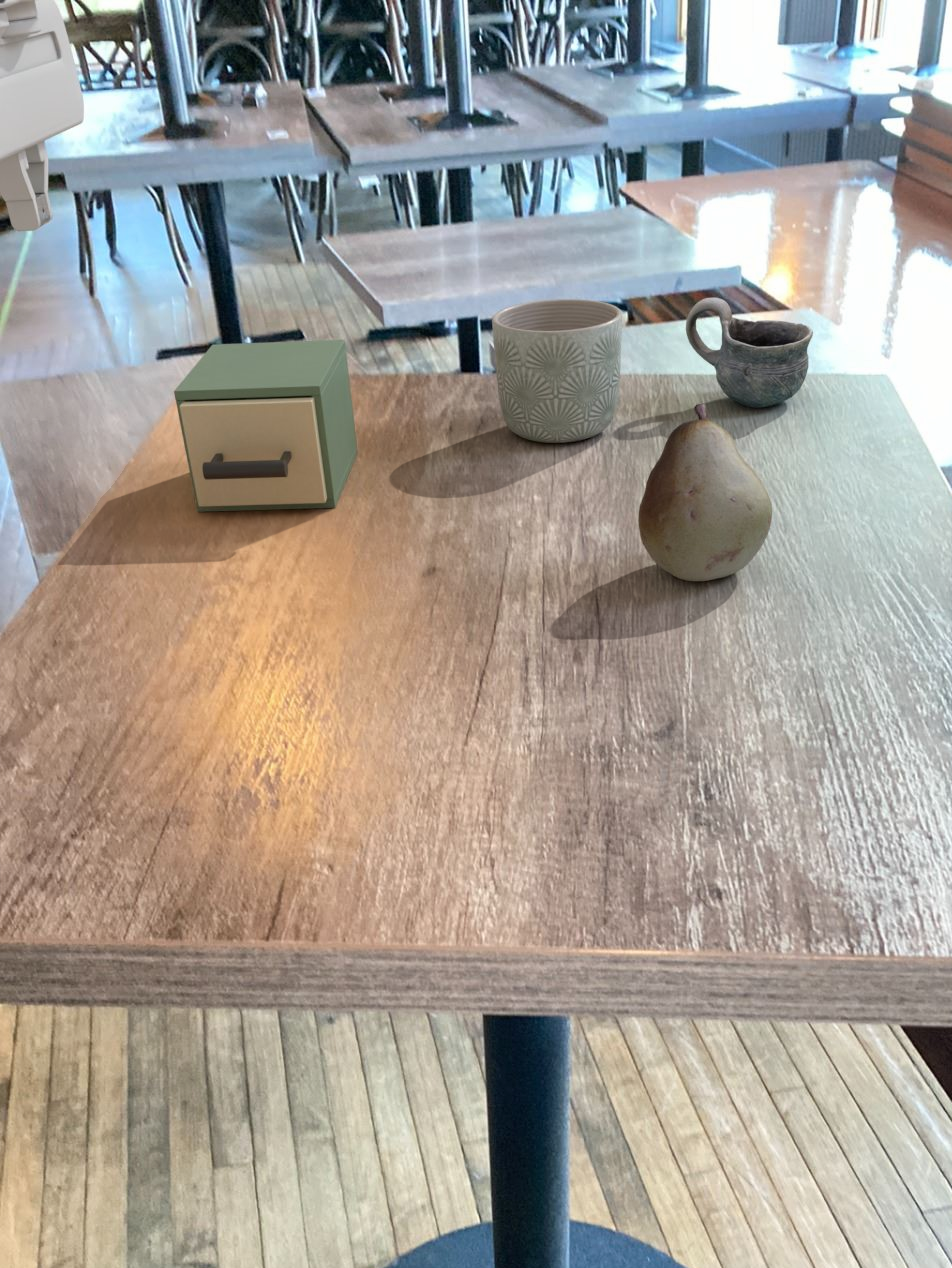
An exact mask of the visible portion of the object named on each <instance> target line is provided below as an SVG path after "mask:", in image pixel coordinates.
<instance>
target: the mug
mask: <svg viewBox="0 0 952 1268" xmlns="http://www.w3.org/2000/svg"><path fill="white" fill-rule="evenodd" d="M707 311H708V312H709V311H710V312H713V313H715V314H717V315H718V317H719V322H720V325H721V345H720V348H719V349H712V348H710V347H709V346H707V344H706V343H705V342H704V341H703V339H702V338H701V336H700V334H699V332H698V330H697V320H698V318H699V317H700V315H701V314H702V313H704V312H707ZM685 333H686V337H687V340H688V342H689V344H690V346H691V347H692V349H693V350H694V351H695V353H696V354H697V355H698V356H700V357H701V359H703V360H704V361H706V362H707V364H709V365H711V366H712V367H714V370H715V379H716V383H717V384H718V385H719V387H720V389H721V391H722V392H723V394H725V396H726V397H728V399H731V400H733V401H734V402H736V403H738V404H739V405H742V406H744V407H745V406H746V407H749V408H766V407H770V406H774V405H779V404H781V403H784V402H786V401H787V400H789V399H792V397H794V396H795V395H796V394H797V393H798V392H799V391H800V389H801V388H802V386H803V384H804V382H805V380H806V377H807V374H808V370H809V362H810V361H809V354H808V348H809V345H810V343H811V340H812V338H813V336H814V331H813V329H812V328H811V327H810V326H809V325H806V324H804V323H795V322H791V321H787V320H773V319H772V320H769V319H768V320H766V319H765V320H756V321H753V320H748V319H743V318H737V317H733V313H732V309H731V306H730V305H729V303H728V302H727V301H726V300H724V299H722V298H719V297H705V298H703V299H701V300H699V301H698V302H696V304H694V306H693V307H691V309H690V311H689V312H688V315H687V317H686V321H685Z"/></svg>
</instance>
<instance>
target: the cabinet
mask: <svg viewBox="0 0 952 1268" xmlns="http://www.w3.org/2000/svg"><path fill="white" fill-rule="evenodd" d="M173 394H174V399H175V404H176V409H177V414H178V419H179V425H180V430H181V435H182V439H183V444H184V450H185V456H186V460H187V466H188V470H189V475H190V481H191V486H192V487H191V488H192V491H193V496H194V501H195V507H196V512H198V513H200V512H202V513H203V512H235V511H236V512H237V511H238V512H239V511H240V512H241V511H268V510H270V511H272V510H273V511H274V510H303V509H306V510H309V509H335V508H336V507H337V504H338V502H339V499H340V498H341V495H342V493H343V491H344V488H345V485H346V483H347V481H348V478H349V476H350V473H351V471H352V468H353V465H354V463H355V460H356V458H357V457H358V454H359V451H358V450H359V449H358V441H357V434H356V433H357V432H356V425H355V424H356V423H355V416H354V415H355V414H354V407H353V406H354V405H353V399H352V389H351V380H350V372H349V364H348V355H347V347H346V340H345V339H326V340H325V339H324V340H299V341H297V340H296V341H273V342H270V341H269V342H247V343H246V342H245V343H243V342H241V343H219V344H215V343H214V344H212V345H210V347H209V348H208V349H207V351H206V352H205V353H204V354H203V355H202V357H201V358H200V359H199V360H198V361H197V363H196V364H195V365H194V366H193V368H191V370H190V371H189V372H188V373H187V374H186V376H185V377H184V378H183V379H182V380H181V382H180V383H179V384H178V385H177V387H176V388H175V389H174V391H173ZM289 396H312V397H313V398H314V402H315V409H316V417H317V424H318V432H319V439H320V447H321V455H322V462H323V470H324V477H325V485H326V492H327V500H326V502H325V503H308V504H274V505H239V506H205V507H199V505H198V499H197V494H196V489H195V484H194V479H193V474H192V468H191V463H190V458H189V453H188V448H187V443H186V437H185V432H184V427H183V422H182V417H181V411H180V405H181V404H182V402H195V400H203V399H231V398H260V397H289Z"/></svg>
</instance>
